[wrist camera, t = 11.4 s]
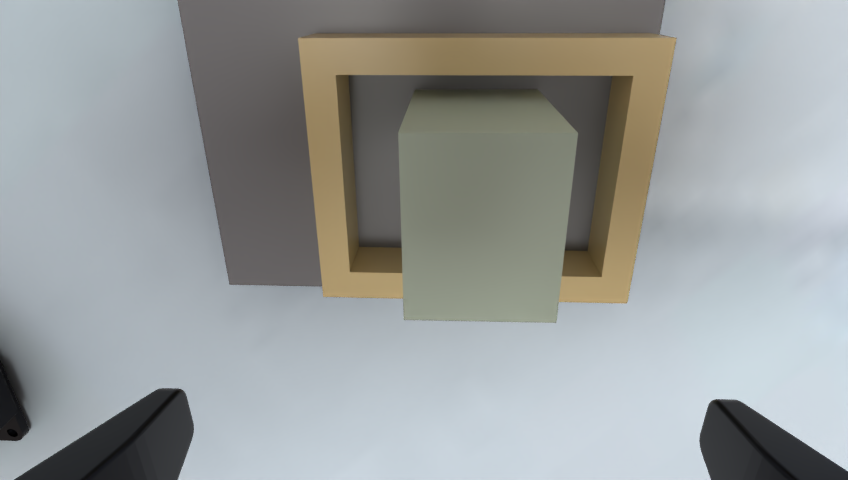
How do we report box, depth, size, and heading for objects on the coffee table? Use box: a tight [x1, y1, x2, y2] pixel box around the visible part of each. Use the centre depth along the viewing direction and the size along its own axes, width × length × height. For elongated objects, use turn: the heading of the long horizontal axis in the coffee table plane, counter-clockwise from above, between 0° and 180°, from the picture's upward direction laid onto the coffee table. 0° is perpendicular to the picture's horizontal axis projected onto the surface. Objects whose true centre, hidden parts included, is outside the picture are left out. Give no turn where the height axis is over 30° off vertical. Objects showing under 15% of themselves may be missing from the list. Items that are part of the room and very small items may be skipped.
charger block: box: [398, 89, 578, 323], centre depth 16 cm, size 4×5×6 cm
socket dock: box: [178, 0, 676, 303], centre depth 17 cm, size 15×12×3 cm
